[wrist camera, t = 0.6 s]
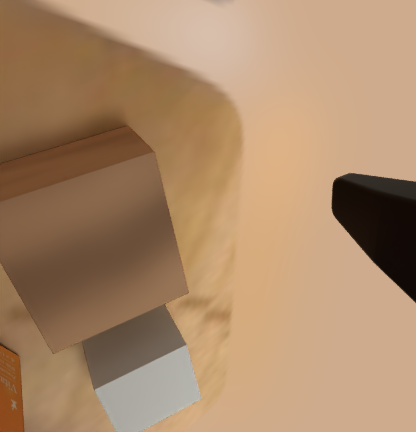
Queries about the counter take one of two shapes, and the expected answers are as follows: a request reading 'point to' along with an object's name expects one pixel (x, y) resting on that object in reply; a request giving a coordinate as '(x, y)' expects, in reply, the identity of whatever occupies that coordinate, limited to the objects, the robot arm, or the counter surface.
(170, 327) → the cube
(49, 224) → the base block
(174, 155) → the counter surface
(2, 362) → the small box
